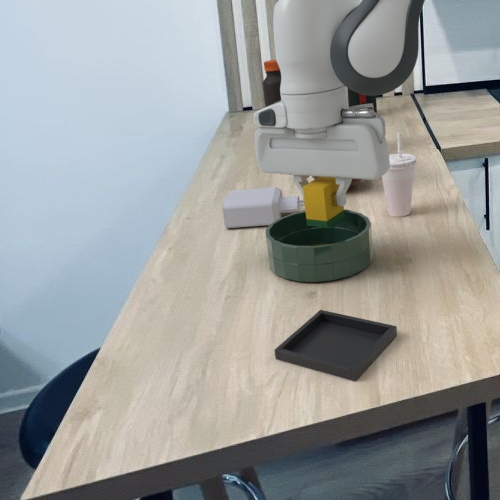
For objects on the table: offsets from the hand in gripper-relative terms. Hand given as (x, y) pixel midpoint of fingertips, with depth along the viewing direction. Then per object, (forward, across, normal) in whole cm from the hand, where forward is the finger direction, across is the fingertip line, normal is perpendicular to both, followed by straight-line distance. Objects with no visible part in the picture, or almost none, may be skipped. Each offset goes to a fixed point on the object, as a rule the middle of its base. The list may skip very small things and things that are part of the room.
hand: (324, 203), depth 96 cm
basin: (+9, 0, +2) cm, 9 cm away
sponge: (+3, 0, 0) cm, 3 cm away
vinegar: (+9, +52, -65) cm, 84 cm away
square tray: (+9, -14, +22) cm, 27 cm away
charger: (+9, +19, -12) cm, 24 cm away
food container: (+9, +24, -55) cm, 61 cm away
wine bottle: (+9, +41, -89) cm, 98 cm away
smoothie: (+9, -2, -21) cm, 23 cm away
